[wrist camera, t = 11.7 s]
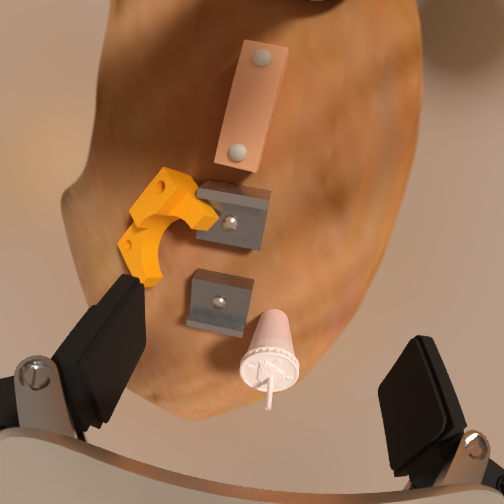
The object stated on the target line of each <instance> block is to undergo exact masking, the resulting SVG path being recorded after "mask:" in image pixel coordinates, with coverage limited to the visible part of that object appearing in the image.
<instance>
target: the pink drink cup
mask: <svg viewBox="0 0 504 504" xmlns="http://www.w3.org/2000/svg"><path fill="white" fill-rule="evenodd" d="M240 376H241V378H242V380H243V381H244V382H245V383H246V384H247V385H249V386H250V387H252V388H254V389H256V390H259V391H264V392H267V396H266V407H265V409H266V410H270V409H271V401H272V392H277V391H282V390H285V389H287V388H289V387H291V386H292V385H293V384H294V383H295V382H296V381H297V379H298V376H299V363H298V361H297V359H296V358H295V355H294V350H293V344H292V339H291V334H290V328H289V323H288V318H287V316H286V314H285V313H284V312H282V311H280V310H277V309H270V310H267V311H265V312H263V313H262V314H261V316H260V319H259V321H258V324H257V327H256V330H255V332H254V335H253V338H252V341H251V343H250V346H249V349H248V351H247V353H246V354H245V355H244V356H243V358H242V360H241V362H240Z"/></svg>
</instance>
